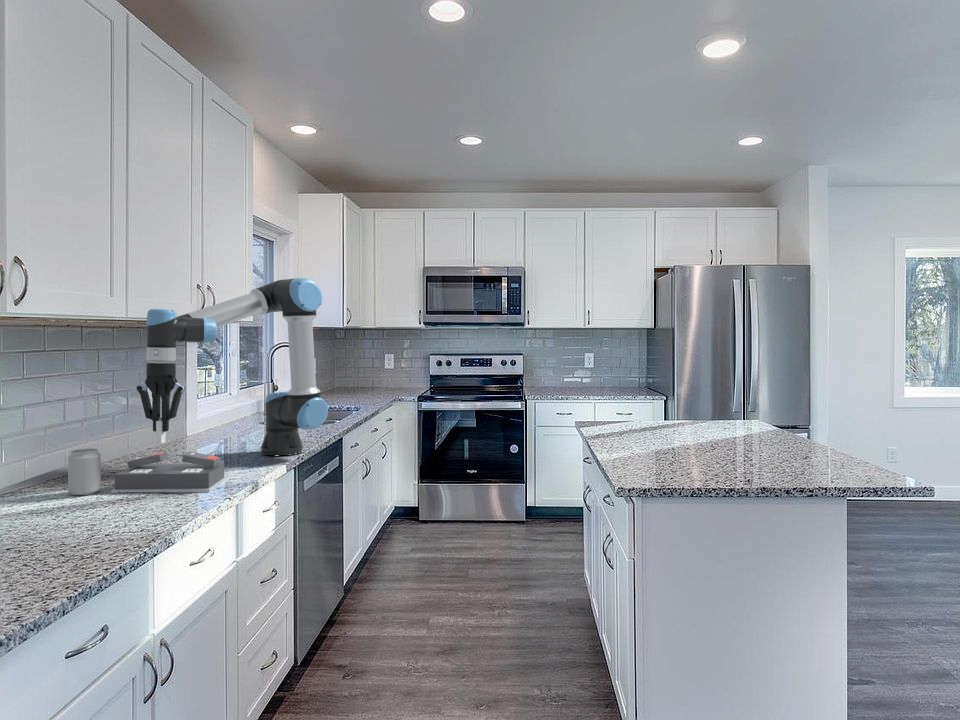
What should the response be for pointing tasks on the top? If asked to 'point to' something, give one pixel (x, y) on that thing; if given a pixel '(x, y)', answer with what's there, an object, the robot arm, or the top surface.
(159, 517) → the top surface
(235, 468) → the top surface
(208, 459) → the block
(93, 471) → the can
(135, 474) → the power strip
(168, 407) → the robot arm
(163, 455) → the rocker
